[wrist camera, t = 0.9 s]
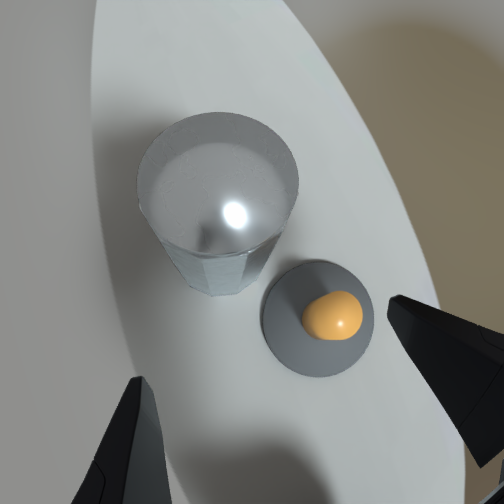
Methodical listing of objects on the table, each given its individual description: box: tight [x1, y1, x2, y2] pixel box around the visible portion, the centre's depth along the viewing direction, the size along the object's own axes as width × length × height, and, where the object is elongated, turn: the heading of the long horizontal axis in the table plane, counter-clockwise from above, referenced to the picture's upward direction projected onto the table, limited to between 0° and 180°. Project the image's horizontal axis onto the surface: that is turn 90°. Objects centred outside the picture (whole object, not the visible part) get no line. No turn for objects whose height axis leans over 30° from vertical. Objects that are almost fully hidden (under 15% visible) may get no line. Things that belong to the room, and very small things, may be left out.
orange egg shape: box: [302, 291, 363, 340], centre depth 21 cm, size 3×3×4 cm
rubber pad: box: [263, 262, 374, 377], centre depth 23 cm, size 9×9×1 cm
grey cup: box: [137, 112, 299, 296], centre depth 19 cm, size 7×7×12 cm
